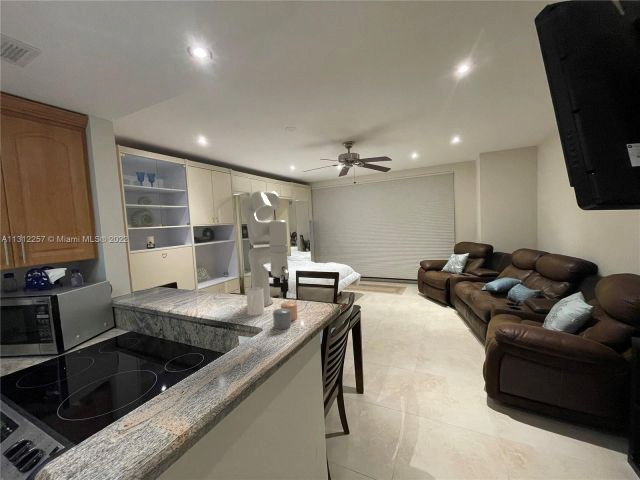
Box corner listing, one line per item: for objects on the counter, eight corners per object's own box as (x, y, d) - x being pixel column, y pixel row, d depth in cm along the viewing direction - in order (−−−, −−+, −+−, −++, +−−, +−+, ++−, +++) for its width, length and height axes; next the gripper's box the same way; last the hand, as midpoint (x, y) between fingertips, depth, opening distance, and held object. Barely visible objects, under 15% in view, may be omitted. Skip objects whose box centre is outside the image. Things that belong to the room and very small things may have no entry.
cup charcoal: (271, 325, 111) (271, 310, 110) (287, 321, 114) (286, 307, 114) (277, 330, 104) (276, 315, 104) (293, 326, 108) (292, 312, 107)
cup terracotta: (279, 317, 120) (279, 303, 119) (293, 314, 123) (293, 301, 123) (284, 322, 113) (284, 308, 113) (299, 318, 117) (299, 305, 116)
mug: (259, 318, 119) (257, 293, 118) (241, 318, 120) (240, 293, 119) (267, 309, 131) (266, 286, 130) (251, 309, 132) (250, 287, 131)
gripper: (264, 248, 113) (266, 286, 114) (276, 251, 97) (279, 295, 99) (280, 247, 116) (282, 284, 117) (294, 250, 101) (296, 292, 102)
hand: (280, 289), depth 108 cm, fingers open, 9 cm apart
